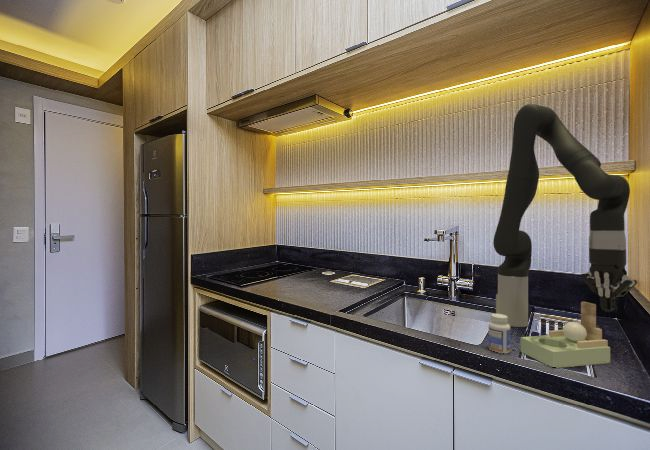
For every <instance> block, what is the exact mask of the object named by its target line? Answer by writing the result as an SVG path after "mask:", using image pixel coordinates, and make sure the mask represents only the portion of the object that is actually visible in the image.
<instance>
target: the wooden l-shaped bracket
mask: <svg viewBox="0 0 650 450" xmlns="http://www.w3.org/2000/svg"><path fill="white" fill-rule="evenodd" d="M575 322H576V321H575ZM576 323H579V324H581V325H582V326H583V327H584V328H585V329H586V331H587V336H586V338H585V339H587V340H602V339H603V329H602V328H600V327H597V304H596V303H592V302H587V301H581V302H580V321H577V322H576Z"/></svg>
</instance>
